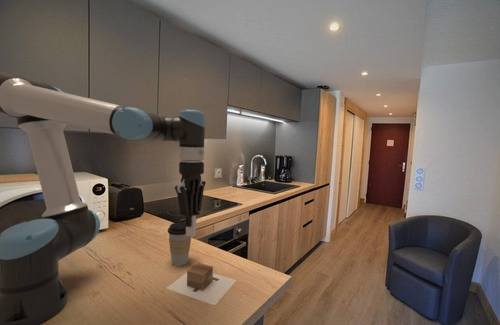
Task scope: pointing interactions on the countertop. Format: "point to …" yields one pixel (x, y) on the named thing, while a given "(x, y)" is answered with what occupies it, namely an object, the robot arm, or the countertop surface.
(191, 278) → the walnut block
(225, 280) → the letter sheet
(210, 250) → the countertop surface
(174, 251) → the coffee cup
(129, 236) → the countertop surface
